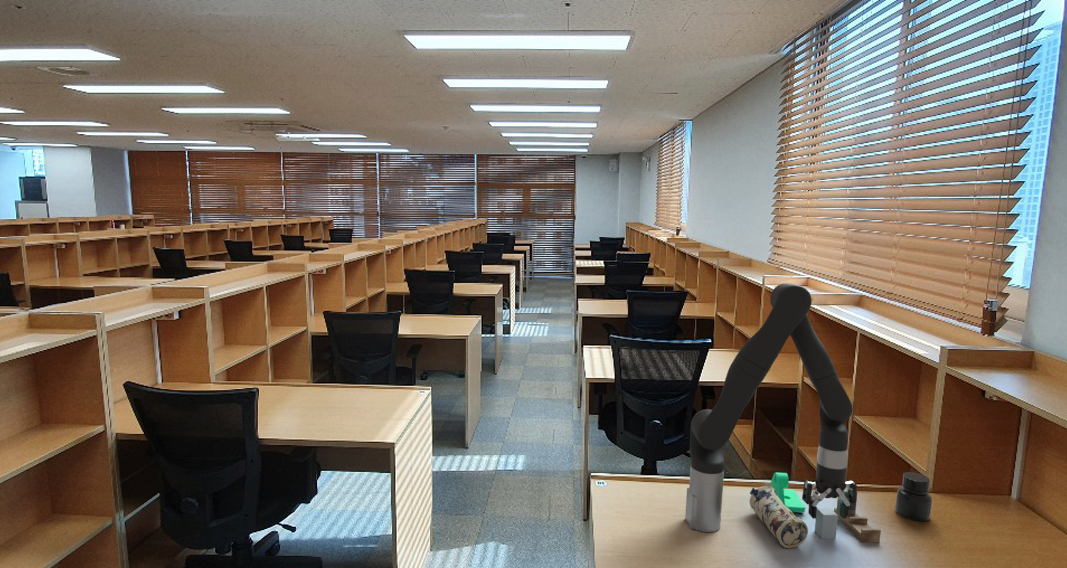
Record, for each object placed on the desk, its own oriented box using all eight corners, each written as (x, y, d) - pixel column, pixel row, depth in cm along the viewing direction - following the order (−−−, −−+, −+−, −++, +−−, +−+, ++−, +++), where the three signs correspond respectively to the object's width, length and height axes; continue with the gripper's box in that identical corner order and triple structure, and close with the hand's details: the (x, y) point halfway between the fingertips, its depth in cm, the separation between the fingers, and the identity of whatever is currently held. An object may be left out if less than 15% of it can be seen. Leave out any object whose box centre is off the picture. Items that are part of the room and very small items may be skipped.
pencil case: (746, 511, 182) (748, 480, 180) (774, 511, 182) (776, 480, 181) (778, 552, 160) (781, 518, 159) (809, 552, 160) (812, 518, 159)
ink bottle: (938, 520, 179) (942, 482, 177) (916, 524, 176) (920, 486, 174) (908, 504, 188) (912, 468, 186) (887, 508, 185) (891, 471, 184)
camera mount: (805, 516, 180) (808, 483, 178) (779, 514, 180) (781, 481, 179) (793, 497, 192) (795, 466, 190) (768, 495, 192) (770, 464, 191)
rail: (861, 541, 166) (864, 511, 165) (833, 514, 181) (836, 485, 180) (879, 542, 166) (882, 511, 165) (849, 514, 181) (852, 486, 180)
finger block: (821, 538, 167) (823, 514, 166) (814, 530, 171) (816, 507, 170) (835, 538, 167) (837, 515, 166) (828, 531, 171) (830, 507, 170)
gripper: (813, 468, 163) (809, 524, 165) (864, 467, 163) (860, 523, 165) (800, 456, 170) (796, 510, 172) (849, 456, 171) (845, 510, 173)
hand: (827, 517), depth 169 cm, fingers open, 8 cm apart
